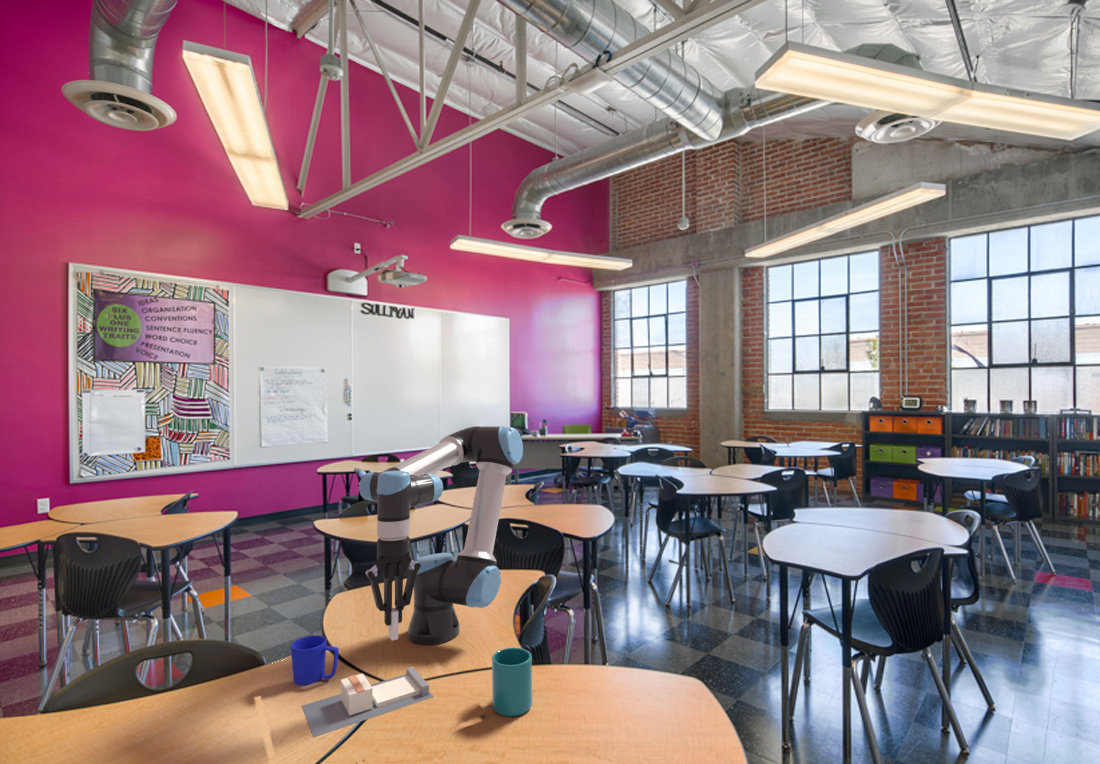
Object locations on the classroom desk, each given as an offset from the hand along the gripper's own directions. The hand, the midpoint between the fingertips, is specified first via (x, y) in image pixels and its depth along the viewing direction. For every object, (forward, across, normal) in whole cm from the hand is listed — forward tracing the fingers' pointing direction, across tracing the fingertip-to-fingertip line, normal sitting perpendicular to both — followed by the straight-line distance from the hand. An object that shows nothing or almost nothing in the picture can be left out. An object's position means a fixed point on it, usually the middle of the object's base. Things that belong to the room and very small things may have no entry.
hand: (393, 637), depth 127 cm
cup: (+14, -22, +18) cm, 32 cm away
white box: (+13, +8, 0) cm, 15 cm away
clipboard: (+14, +6, 0) cm, 15 cm away
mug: (+14, +14, -18) cm, 27 cm away
